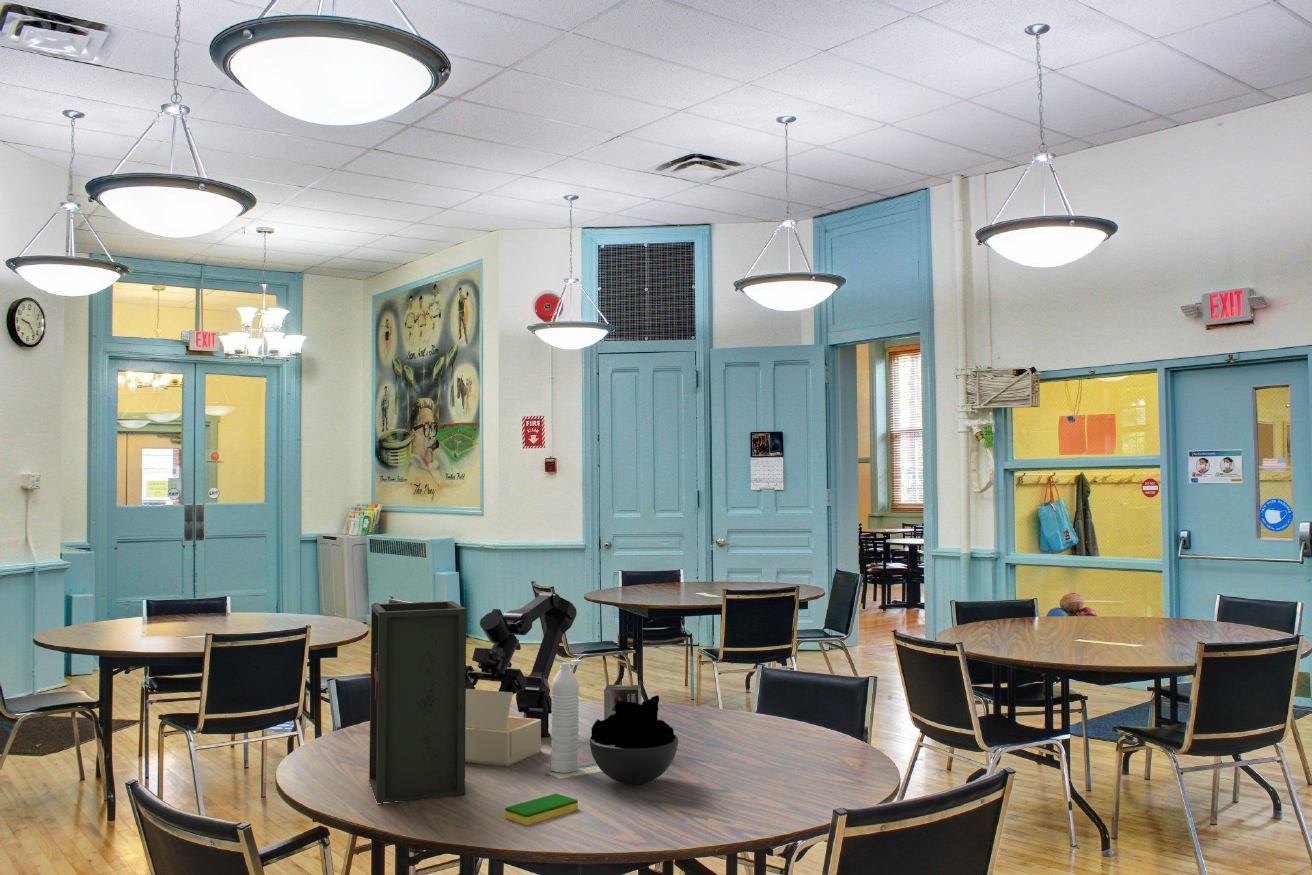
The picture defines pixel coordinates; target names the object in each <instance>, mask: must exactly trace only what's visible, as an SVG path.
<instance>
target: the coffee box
mask: <svg viewBox="0 0 1312 875" xmlns="http://www.w3.org/2000/svg"><path fill="white" fill-rule="evenodd" d="M623 700H624V701H626V702H629V701H631V702H634V703H638V704H641V705H642V685H641V684H607V685H606V686H605V688H604V689H603V710H604V711H603V714H604V716H603V717H604V718H603V719H604V720H605V719H606V718H608V717H609V715H613V714H616V711H615V705H616V703H617V702H622V701H623Z"/></svg>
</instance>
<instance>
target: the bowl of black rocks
mask: <svg viewBox="0 0 1312 875" xmlns="http://www.w3.org/2000/svg"><path fill="white" fill-rule="evenodd" d="M659 702H660V696H659V695H658V694H657V695H654V696H652V697H650V698H649V699H648V700H644V701H641V704H638V703H634V702H631V701H629V702H626V701H624V700H623V701H622V702H617V703H616V705H615V711H616V714H613V715H609V717H608V718H606V719H605V720H600V719H596V721H595V722H594V723H593V724H592V726H591V733H590V734H591V736H590V738H589V747H590V753H591V756H592V758H593V761H594V762H595V764H596V765H597V767H598V768H599V769H600V770H601V772H602V773H603V774H604V775H606V777H608V778H609V779H611V780H613V781H615V782H617V783H620V784H622V785H628V786H641V785H645V784H647V783H651V782H653V781H655V780H656V779H657V778H659V777H661V776H662V775H663V774H664V773H665V772H666V771H667V770H668V769H669V768H670V766H671V765H672V763H673V761H674V759H675V757H676V755H677V750H678V746H679V737H678V736H677V734H674V733H675V731H674V728H673V727H672V726H670V724H668V723H666V721H664V720H663V719H658V713H659Z"/></svg>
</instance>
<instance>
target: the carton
mask: <svg viewBox="0 0 1312 875" xmlns="http://www.w3.org/2000/svg"><path fill="white" fill-rule="evenodd" d="M541 746H542V737H541V719H531V718H523V717H519V716H508V721H507V725H506V730H495V729H485V728H475V727H465V763H471V764H478V765H479V764H481V765H489V766H490V765H491V766H497V767H506V768H507V767H510V766H513V765H514V764H517V763H520V762H521V761H523V760H525V759H528V758H530V757H532V756H534V755H536V754H538V753H541V752H542V747H541Z"/></svg>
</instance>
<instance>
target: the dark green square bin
mask: <svg viewBox="0 0 1312 875" xmlns="http://www.w3.org/2000/svg"><path fill="white" fill-rule="evenodd" d="M370 607H371V610H370V611H371V615H370V616H371V617H370V618H371V619H370V620H371V622H370V623H371V625H370V626H371V627H370V628H371V631H370V687H369V688H370V696H369V701H370V702H369V706H370V707H369V756H368V757H369V758H368V760H369V761H368V762H369V768H368V770H369V773H368V782H370V783H369V785H370V784H371V786H370V788H371V787H372V789H371V791H372V790H373V792H372V794H373V793H374V795H373V797H374V796H375V798H374V800H375V799H376V801H377V803H383V802H395V801H406V802H414V801H421V800H422V799H425V800H432V799H433V800H434V799H442V798H443V797H444V798H452V797H462V796H466V762H465V721H466V665H467V608H466V607H464V606H462V605H460V604H458V603H456V602H455V601H453V600H451V601H449V600H448V601H447V600H446V601H421V602H419V601H418V602H397V603H396V602H395V603H392V602H391V603H372V604H371V606H370ZM376 801H375V802H376ZM377 803H376V804H377Z"/></svg>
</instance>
